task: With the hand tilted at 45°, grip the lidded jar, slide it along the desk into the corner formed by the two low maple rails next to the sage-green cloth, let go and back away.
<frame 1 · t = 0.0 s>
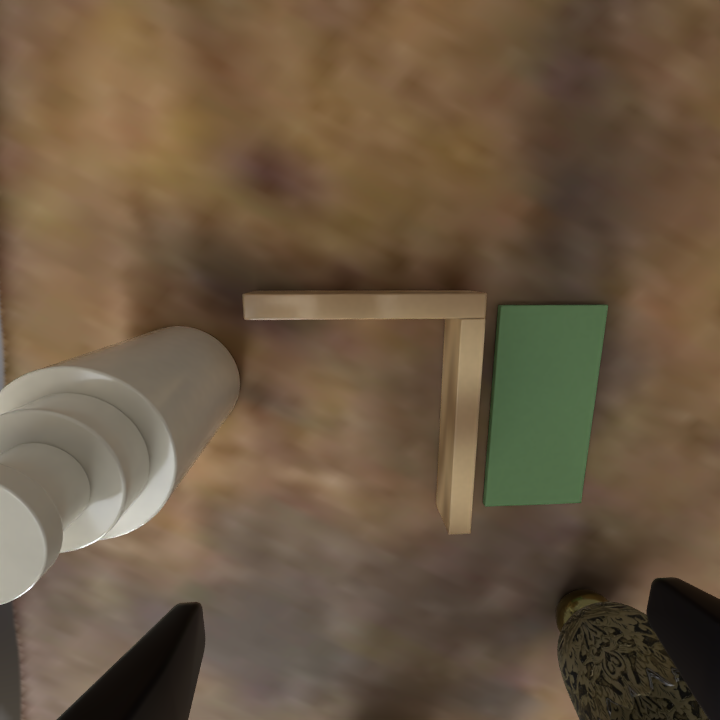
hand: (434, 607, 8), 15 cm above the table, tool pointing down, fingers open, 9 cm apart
lidded jar: (183, 381, 21), on the table
corner rails: (368, 412, 22), on the table
green cloth: (540, 408, 23), on the table
cup: (575, 604, 27), on the table
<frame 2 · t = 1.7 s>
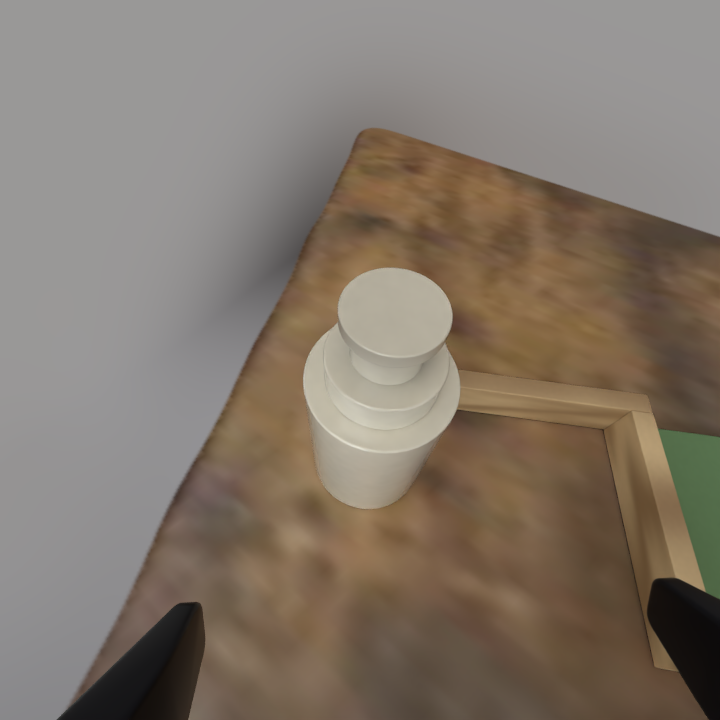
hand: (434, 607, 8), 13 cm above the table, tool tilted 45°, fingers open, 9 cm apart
lidded jar: (367, 454, 23), on the table
corner rails: (547, 516, 21), on the table
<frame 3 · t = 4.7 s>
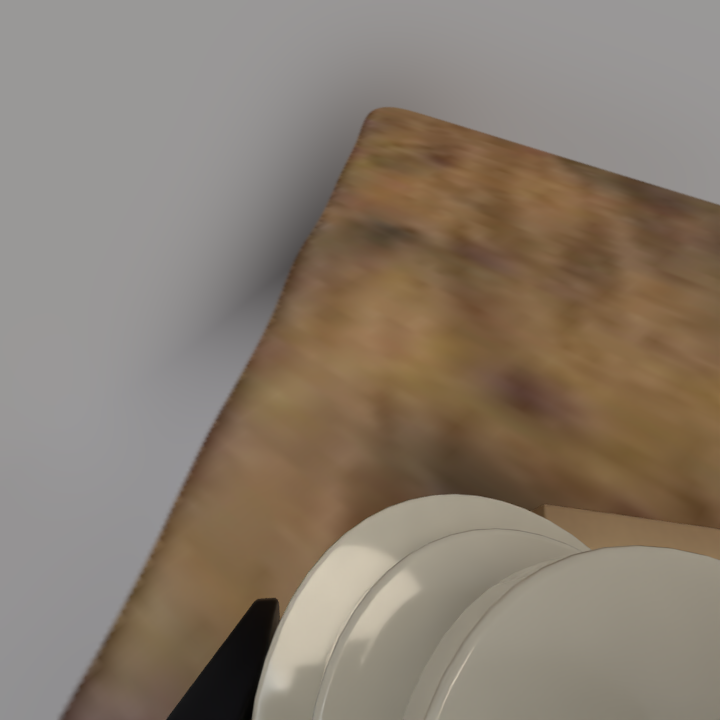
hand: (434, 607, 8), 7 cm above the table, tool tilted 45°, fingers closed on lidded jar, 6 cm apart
lidded jar: (396, 660, 13), on the table, touching gripper
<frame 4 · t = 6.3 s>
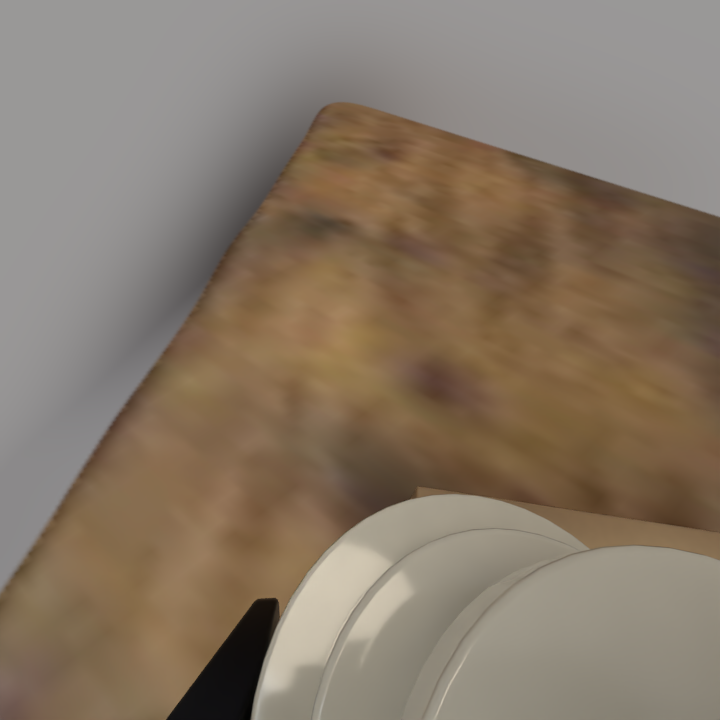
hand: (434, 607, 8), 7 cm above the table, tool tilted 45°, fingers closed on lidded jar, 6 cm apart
lidded jar: (396, 659, 13), on the table, touching gripper
when the fingers open (7 cm above the table, at t = 8.3 s): lidded jar stays where it is, on the table.
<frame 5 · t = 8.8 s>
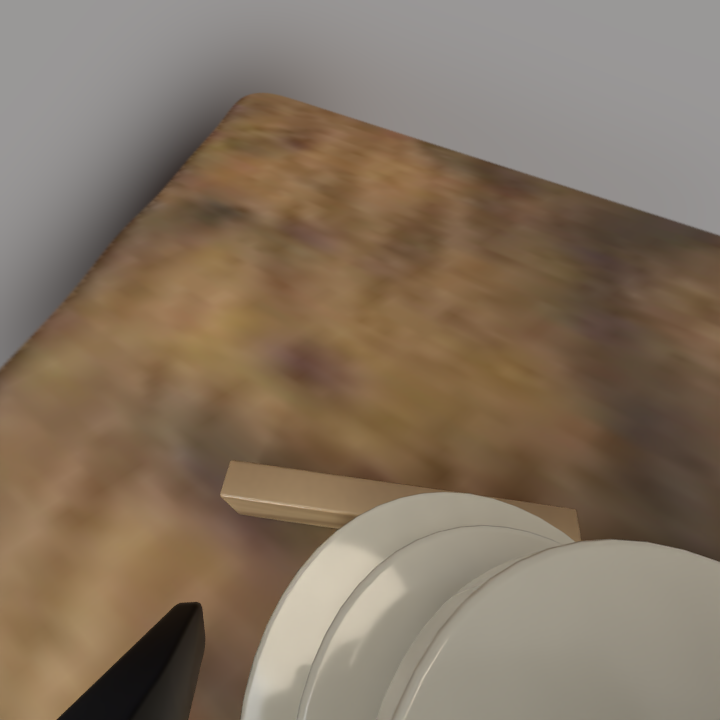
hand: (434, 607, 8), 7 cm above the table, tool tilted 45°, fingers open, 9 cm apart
lidded jar: (392, 658, 13), on the table
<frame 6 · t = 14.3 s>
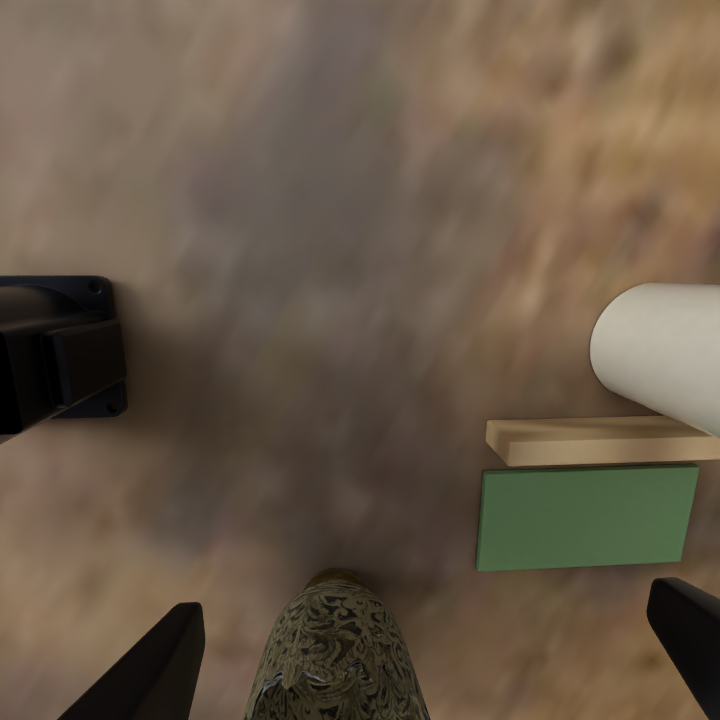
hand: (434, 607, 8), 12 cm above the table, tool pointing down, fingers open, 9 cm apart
lidded jar: (645, 342, 20), on the table
corner rails: (607, 340, 20), on the table
green cloth: (583, 515, 22), on the table
cup: (335, 586, 22), on the table
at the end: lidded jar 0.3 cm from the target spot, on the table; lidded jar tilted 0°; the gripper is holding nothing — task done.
